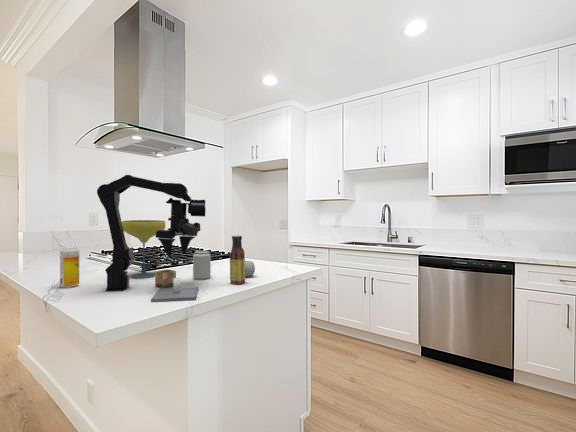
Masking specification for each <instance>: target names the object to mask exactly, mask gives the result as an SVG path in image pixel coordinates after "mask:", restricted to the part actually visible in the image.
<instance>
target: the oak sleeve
mask: <svg viewBox="0 0 576 432" xmlns="http://www.w3.org/2000/svg"><path fill="white" fill-rule="evenodd" d="M154 277H155V279H154V280H155V281H154V283H155V284H154V287H155V288H158V289H159V288H173V279H174V278H177V271H176V270H173V269H169V268H168V269H161V270H157V271H155V276H154Z"/></svg>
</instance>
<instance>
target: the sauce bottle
mask: <svg viewBox="0 0 576 432" xmlns="http://www.w3.org/2000/svg"><path fill="white" fill-rule="evenodd" d="M231 239H232V246H231V251H230V254H229V280H230V284H232V285H242V284H244V283H246V277H245V261H246V259H245V258H246V257H245V250H244V248H243V245H242V239H243V236H242V235H239V234H238V235H231Z"/></svg>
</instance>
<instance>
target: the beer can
mask: <svg viewBox="0 0 576 432" xmlns="http://www.w3.org/2000/svg"><path fill="white" fill-rule="evenodd" d="M79 284H80V249H79V247H78V246H67V247H61V249H60V250H59V286H60V287H61V288H62V289H71V288H75V287H78V285H79Z"/></svg>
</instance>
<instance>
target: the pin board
mask: <svg viewBox="0 0 576 432" xmlns="http://www.w3.org/2000/svg"><path fill="white" fill-rule="evenodd" d="M199 288H200V287H199V286H192V287H191V286H189V287H181V278H180V277H176V278H174V279H173V287H170V288H158V289H157V291H156V292H155V293H154V295H153V296H152V297H151V299H150V303H160V302H161V303H162V302H163V303H164V302H184V301H185V302H186V301H196V300H197V296H198V293H199Z"/></svg>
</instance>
